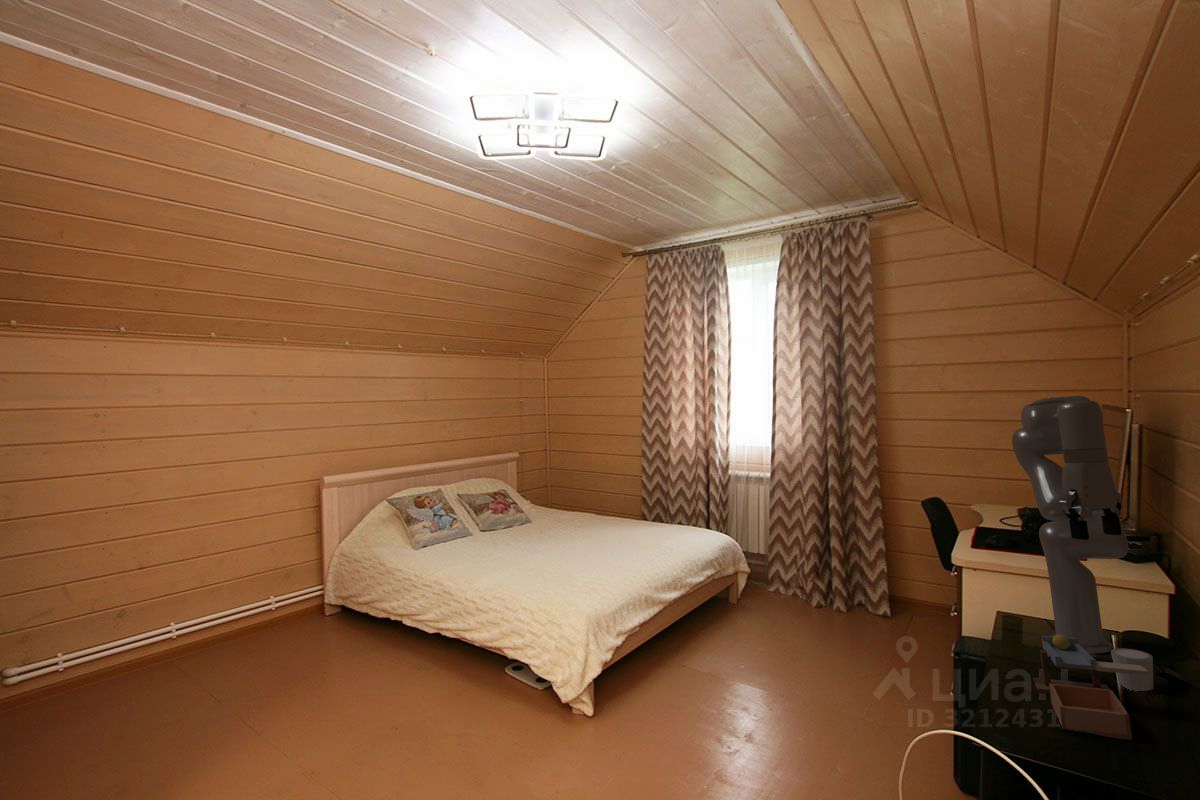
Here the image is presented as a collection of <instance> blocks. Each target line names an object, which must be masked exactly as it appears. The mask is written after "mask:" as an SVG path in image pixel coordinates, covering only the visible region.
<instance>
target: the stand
mask: <svg viewBox="0 0 1200 800" xmlns="http://www.w3.org/2000/svg"><path fill="white" fill-rule="evenodd" d="M1039 653H1040V661H1041V669H1042V675H1043V678H1040V677H1032V678H1033V683H1034V685H1035V688H1036V691H1037V692H1038V693H1041V694H1049V695H1050V689H1049V683H1051V684H1061V685H1071V686H1080V687H1090V688H1100V689H1110V688H1109V686H1108V685H1107V684H1102V683H1101V678H1100V671H1097V670H1090V674H1091V682H1092V683H1091V682H1090V683H1089V682H1082V681H1081V682H1080V681H1071V680H1061V679H1052V678H1051V673H1050V672H1051V671H1050V667H1049V666H1050V664H1049V658H1048V655H1047V652H1046V650H1044V649H1042V648H1041V649H1040V648H1039ZM1088 654H1090V655H1091V656H1092V657H1093V658H1094V659H1095V661H1096V662H1099V661H1098V656H1097V655H1096V653H1088Z"/></svg>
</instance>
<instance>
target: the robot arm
mask: <svg viewBox="0 0 1200 800" xmlns="http://www.w3.org/2000/svg"><path fill="white" fill-rule="evenodd" d="M1020 420H1021V425H1022V427H1021V428H1018V429H1016V430H1014V432H1013V434H1012V437H1011V444H1012V450H1013V451H1014V455H1015V457H1016V460H1017V462H1018V463H1019V465H1020V466H1021V468H1023V470H1024V471H1025V473H1026V474H1027V476H1028V477H1029V480H1030V484H1031V488H1032V491H1033V494H1034V498H1035V502H1036V505H1037V508H1038V510H1039V513H1040V515H1041V516H1042V517H1043V518H1045V519H1046V520H1049V522H1045V523H1043V524H1042V525H1041V526H1040V528H1039V531H1038V536H1039V542H1040V544H1041V547H1042V550H1043V555H1044V558H1045V562H1046V566H1047V567H1046V568H1047V573H1048V580H1049V581H1048V582H1049V588H1050V590H1049V591H1050V597H1051V604H1052V612H1053V621H1054V627H1055V633H1052V634H1050V635H1049V637H1054V636H1055V635H1064V636H1066V637H1067V638H1077V639H1078V644H1079V645H1080V646H1081V647H1082V648H1083V649H1084V650H1085V651H1086V652H1087V653H1088V654H1089V653H1094V654H1105V653H1106V654H1107V653H1108V652H1111V650H1113V644H1112V642H1111V641H1109V640H1108V639H1106V638H1104V633H1103V627H1102V626H1103V624H1102V617H1101V611H1100V602H1099V596H1098V588H1097V582H1096V580H1097V579H1096V577H1095V575H1094V573H1093V572H1092V570H1090V569H1089V568H1088V567H1087V566H1085V564H1083V563H1082V561H1080V560H1087V559H1089V560H1090V559H1091V560H1093V559H1094V560H1099V559H1100V560H1113V559H1114V560H1118V559H1122V558H1124V557H1126V556H1127V554H1128V552H1129V540H1128V538H1127V535H1126V531H1125V529H1124V526H1123V524H1122V521H1121V519H1120V517H1121V514H1122V513H1121V509H1122V506H1123V505H1122V502H1123V495H1122V494H1121V493H1120V492H1118V491H1116V484H1115V481H1114V478H1113V477H1114V476H1113V474H1112V470H1111V467H1110V463H1109V457H1108V456H1109V455H1108V448H1107V442H1106V435H1105V429H1104V423H1103V422H1104V417H1103V412H1102V408H1101V405H1100V403H1098V402H1097V401H1094V400H1091V399H1090V398H1088V397H1087V396H1083V395H1070V396H1061V397H1057V396H1056V397H1047V398H1046V397H1045V398H1041V399H1037V400H1034V401H1033V402H1032V403H1030V404H1026V405H1024V406H1023V407H1022V410H1021V416H1020ZM1051 455H1063V462H1064V464H1063V465H1062V466H1061V465H1060V464H1058V463H1056V462H1055V461H1054V460H1052V459H1050V458H1049V457H1046V456H1051Z"/></svg>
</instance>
